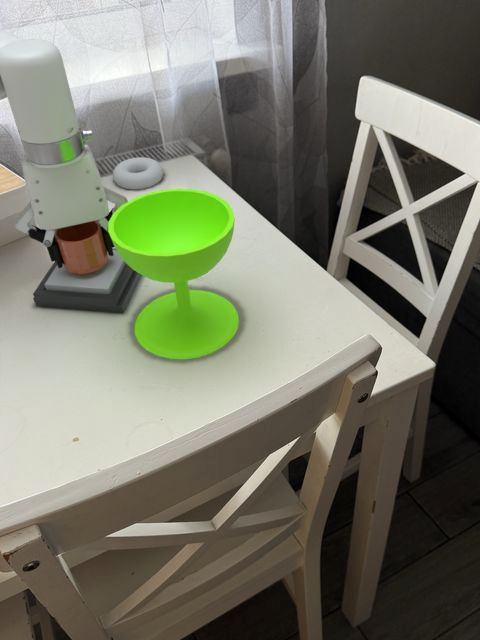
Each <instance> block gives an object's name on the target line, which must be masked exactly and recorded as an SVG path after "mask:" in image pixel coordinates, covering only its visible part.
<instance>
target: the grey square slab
mask: <svg viewBox="0 0 480 640" xmlns="http://www.w3.org/2000/svg"><path fill="white" fill-rule="evenodd" d="M107 253H108V252H107ZM113 254H114V256H109V254H108V261H107V263H106V264H105V265H104V266H103V267H102V268H100V269H98V270H96V271H94V272H90V273H85V274H76V273H72V272H69V271H67V270H66V269H65V268H64V266H63V267H62V268H58V265H57V266H56V268H55V269H54V271H53V272H52V274H51V275H50V277H49V278H48V280H47V281H46V283H45V287H46V290H52V291H66V292H79V293H93V294H106V295H111V293H112V291H113V289H114V287H115V285H116V283H117V281H118V279H119V277H120V276H121V274H122V272H123V270H124V268H125V266H126V262H125V261H124V260H123V259H122V258H121V256H120V255H119V254H118V253H117V251H116V250H113Z"/></svg>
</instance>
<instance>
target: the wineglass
mask: <svg viewBox="0 0 480 640" xmlns="http://www.w3.org/2000/svg"><path fill="white" fill-rule="evenodd" d="M235 219H236V216H235V213H234V209H233V208H232V206H231V205H230V203H228V201H226V200H225V199H223V198H221V197H220V196H219V195H216V194H214V193H211V192H208V191H205V190H200V189H193V188H169V189H159V190H156V191H155V190H154V191H152V192H147V193H144V194H141V195H138V196H136V197H134V198H132V199H129V200H128V202H127V203H125V204H123V205H122V206H121V207H119V208H118V209H117V210H116V211H115V212H114V213H113V215H112V217H111V219H110V220H109V224H108V232H109V234H110V237H111V239H112V242H113V244H114V246H115V247H114V249H116V251H117V253H118V254H119V255H120V256H121V258H122V259H123V260H124V261H125V262H126V264H127V265H129V266H130V267H131V268H132V269H133V270H135V271H136V272H138V273H140V274H141V275H142V276H143V277H145V278H147V279H149V280H151V281H155V282H160V283H169V284H173V285H174V291H173V292H170V293H167V294H163V295H161V296H159V297H157V298H156V299H154V300H152V301H151V302H149V303H148V304H147V305H145V306H144V307H143V308H142V310H141V311H140V313H138V315H137V317H136V319H135V321H134V336H135V338H136V340H137V343H138V344H139V345H141V347H143V349H145V351H147V352H149V353H151V354H153V355H154V356H157V357H161V358H165V359H170V360H189V359H197V358H200V357H204V356H207V355H210V354H213V353H215V352H216V351H218V350H220V349H221V348H223V347H225V346H226V345H227V344H228V343H229V342H230V341H231V340H232V339H233V337H234V336H235V335H236V333H237V331H238V328H239V324H240V318H239V314H238V311H237V308H235V306H234V304H233V303H231V302H230V301H229V300H228V299H226V298H225V297H224V296H222V295H219V294H217V293H214V292H211V291H206V290H202V289H201V290H198V289H190V287H189V281H191V280H196V279H198V278H200V277H202V276H204V275H206V274H208V273H209V272H210V271H212V270H213V269H214V268H216V266H217V265H218V264H219V263H220V262H221V261H222V259H223V258H224V256H225V255H226V254H227V251H228V249H229V247H230V244H231V242H232V240H233V237H234V236H233V235H234V231H235V230H234V229H235V221H236V220H235Z"/></svg>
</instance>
